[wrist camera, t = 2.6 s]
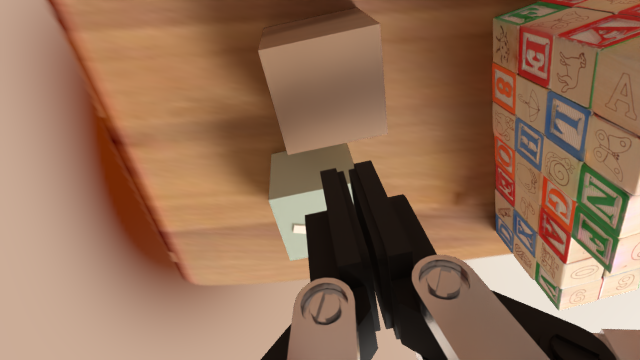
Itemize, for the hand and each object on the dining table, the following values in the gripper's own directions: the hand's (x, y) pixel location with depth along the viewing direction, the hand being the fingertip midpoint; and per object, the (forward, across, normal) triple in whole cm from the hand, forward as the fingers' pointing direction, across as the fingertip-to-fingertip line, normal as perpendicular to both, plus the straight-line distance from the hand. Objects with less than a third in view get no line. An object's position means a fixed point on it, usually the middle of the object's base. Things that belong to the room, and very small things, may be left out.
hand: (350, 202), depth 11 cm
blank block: (+14, 0, -1) cm, 14 cm away
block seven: (+14, +2, +8) cm, 17 cm away
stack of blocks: (+14, -17, +8) cm, 24 cm away
